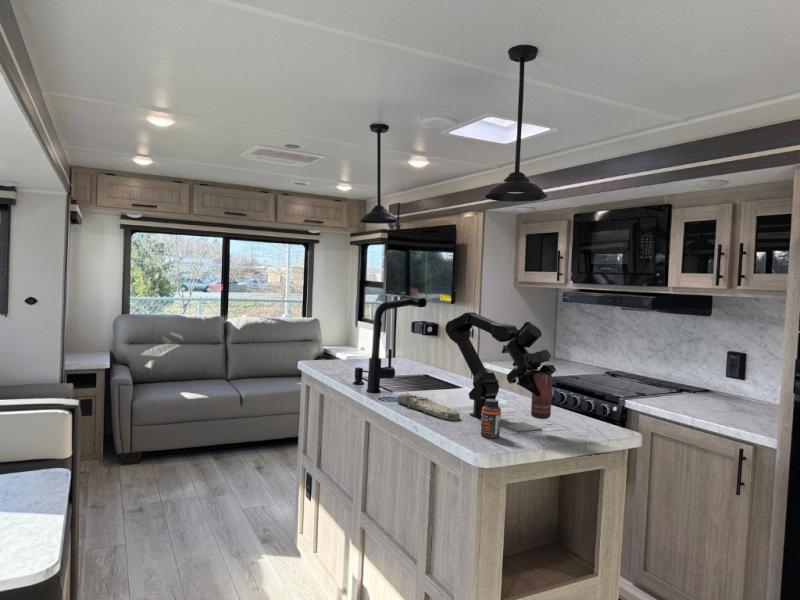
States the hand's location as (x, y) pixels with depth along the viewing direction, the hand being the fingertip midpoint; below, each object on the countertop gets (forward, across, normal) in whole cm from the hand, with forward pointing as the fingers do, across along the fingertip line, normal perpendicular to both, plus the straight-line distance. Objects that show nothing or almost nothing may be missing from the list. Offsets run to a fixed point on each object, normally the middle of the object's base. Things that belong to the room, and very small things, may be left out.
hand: (545, 395), depth 182 cm
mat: (+2, +1, +16) cm, 16 cm away
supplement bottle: (+4, -17, +14) cm, 22 cm away
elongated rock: (-22, -12, +41) cm, 48 cm away
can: (+4, +1, +6) cm, 8 cm away
